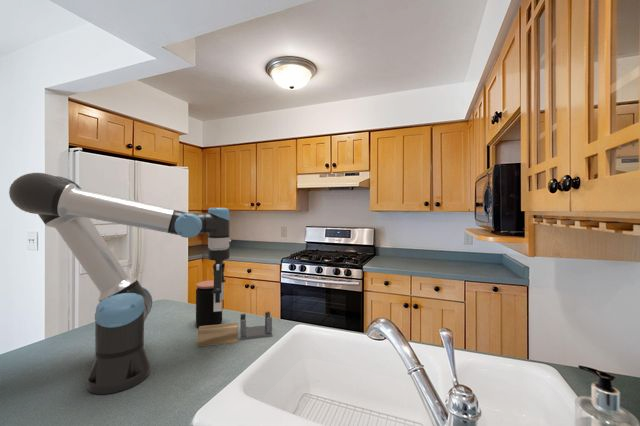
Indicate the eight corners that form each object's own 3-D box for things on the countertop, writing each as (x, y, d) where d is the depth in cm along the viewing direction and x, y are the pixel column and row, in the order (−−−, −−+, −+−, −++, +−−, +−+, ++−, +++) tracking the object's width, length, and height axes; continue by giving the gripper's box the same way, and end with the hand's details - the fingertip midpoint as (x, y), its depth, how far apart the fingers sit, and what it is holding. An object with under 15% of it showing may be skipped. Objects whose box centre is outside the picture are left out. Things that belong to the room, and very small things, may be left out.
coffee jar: (216, 329, 117) (216, 286, 117) (191, 329, 117) (191, 286, 117) (225, 319, 127) (225, 280, 127) (202, 319, 128) (202, 280, 127)
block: (237, 342, 106) (237, 326, 106) (197, 347, 103) (197, 330, 102) (237, 338, 110) (238, 322, 110) (199, 342, 106) (199, 326, 106)
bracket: (272, 336, 111) (272, 318, 111) (240, 339, 108) (240, 321, 108) (269, 327, 120) (269, 310, 120) (240, 330, 117) (240, 313, 117)
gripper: (228, 253, 95) (228, 315, 95) (230, 244, 119) (230, 294, 119) (204, 253, 93) (204, 318, 93) (211, 245, 117) (211, 295, 117)
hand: (219, 304), depth 106 cm, fingers open, 13 cm apart
